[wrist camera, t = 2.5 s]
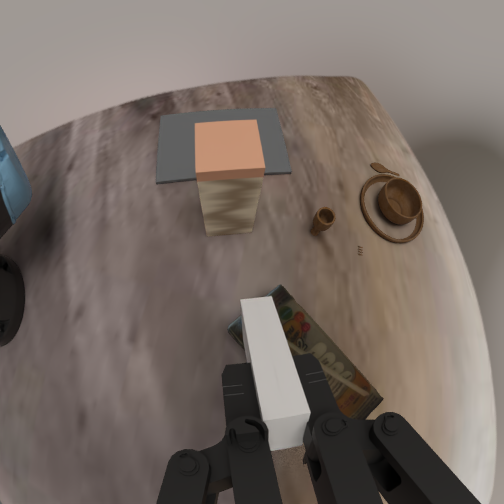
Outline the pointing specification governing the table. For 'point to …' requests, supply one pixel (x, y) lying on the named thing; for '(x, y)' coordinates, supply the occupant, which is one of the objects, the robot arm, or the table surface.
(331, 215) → the place setting
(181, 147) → the rubber mat
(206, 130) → the birch block
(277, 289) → the beverage carton
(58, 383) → the table surface
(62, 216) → the table surface
